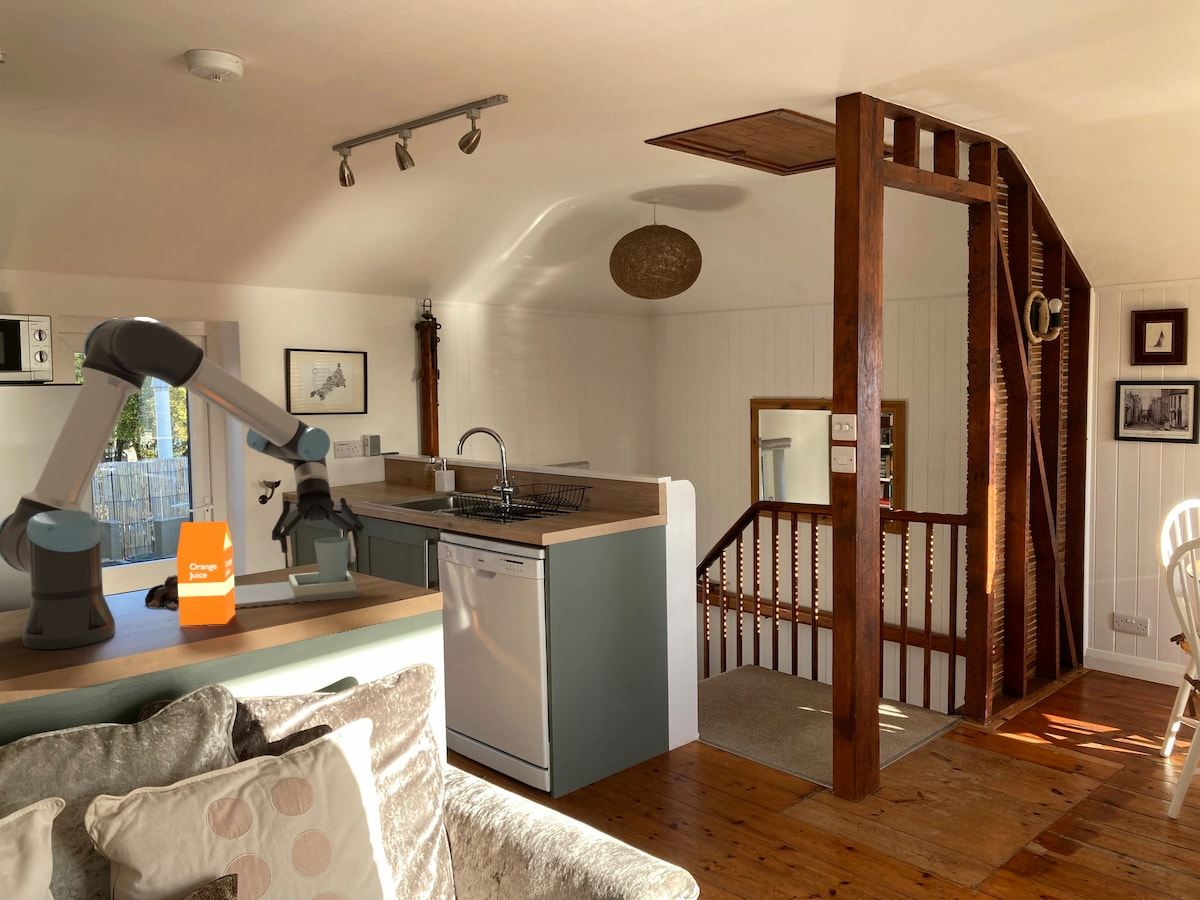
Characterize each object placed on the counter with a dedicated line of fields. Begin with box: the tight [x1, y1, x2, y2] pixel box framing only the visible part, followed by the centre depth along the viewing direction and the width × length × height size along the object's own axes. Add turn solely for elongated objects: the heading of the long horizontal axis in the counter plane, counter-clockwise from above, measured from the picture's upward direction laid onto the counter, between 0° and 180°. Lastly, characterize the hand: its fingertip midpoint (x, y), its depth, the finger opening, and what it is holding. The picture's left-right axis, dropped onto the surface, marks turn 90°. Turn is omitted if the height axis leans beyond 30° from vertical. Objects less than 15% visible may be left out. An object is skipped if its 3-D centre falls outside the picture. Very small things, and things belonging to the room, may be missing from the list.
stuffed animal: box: [144, 574, 179, 610], centre depth 205 cm, size 12×10×12 cm
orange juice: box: [176, 521, 236, 627], centre depth 189 cm, size 8×9×20 cm
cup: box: [314, 536, 349, 584], centre depth 215 cm, size 8×8×10 cm
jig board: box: [234, 570, 360, 609], centre depth 211 cm, size 26×17×3 cm, turn 113°
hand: (322, 561), depth 211 cm, fingers open, 13 cm apart
